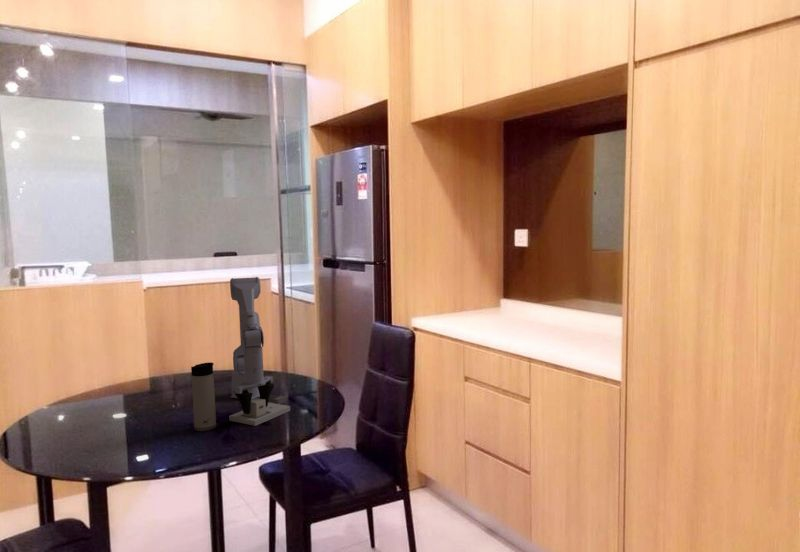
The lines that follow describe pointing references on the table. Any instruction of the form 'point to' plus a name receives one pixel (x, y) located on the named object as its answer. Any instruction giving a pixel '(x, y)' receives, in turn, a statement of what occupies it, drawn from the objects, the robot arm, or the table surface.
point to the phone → (271, 398)
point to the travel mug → (203, 397)
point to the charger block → (257, 407)
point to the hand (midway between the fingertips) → (255, 410)
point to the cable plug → (279, 400)
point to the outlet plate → (271, 412)
